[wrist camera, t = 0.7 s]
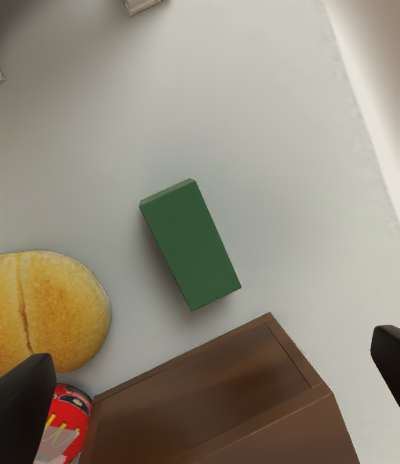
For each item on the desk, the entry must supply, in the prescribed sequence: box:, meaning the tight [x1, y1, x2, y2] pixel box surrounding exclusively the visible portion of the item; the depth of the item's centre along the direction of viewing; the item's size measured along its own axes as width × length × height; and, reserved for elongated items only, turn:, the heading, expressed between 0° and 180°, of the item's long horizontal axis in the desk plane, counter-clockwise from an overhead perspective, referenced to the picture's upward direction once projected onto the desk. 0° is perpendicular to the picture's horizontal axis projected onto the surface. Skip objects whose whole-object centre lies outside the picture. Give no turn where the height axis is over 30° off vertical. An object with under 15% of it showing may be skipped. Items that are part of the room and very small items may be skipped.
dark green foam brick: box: [139, 178, 241, 311], centre depth 20 cm, size 8×4×3 cm, turn 24°
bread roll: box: [0, 250, 111, 377], centre depth 19 cm, size 8×9×4 cm
